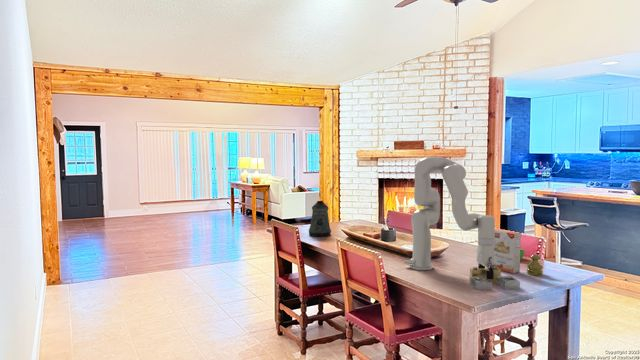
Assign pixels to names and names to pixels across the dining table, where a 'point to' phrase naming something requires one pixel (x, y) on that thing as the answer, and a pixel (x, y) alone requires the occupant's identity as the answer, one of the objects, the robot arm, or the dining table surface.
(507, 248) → the cracker box
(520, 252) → the fruit basket
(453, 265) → the dining table surface
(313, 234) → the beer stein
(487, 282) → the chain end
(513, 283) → the chain end
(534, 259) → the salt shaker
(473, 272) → the link
